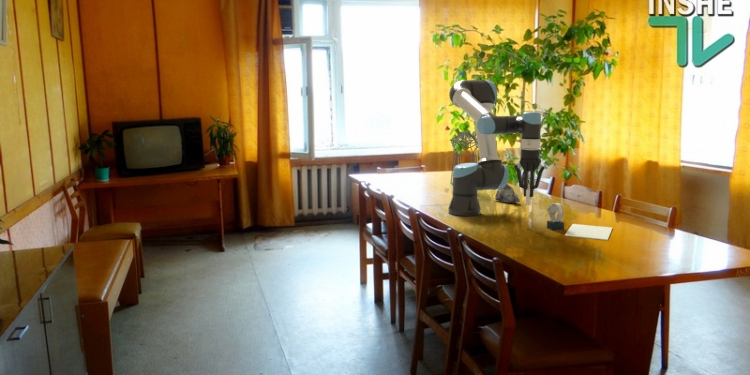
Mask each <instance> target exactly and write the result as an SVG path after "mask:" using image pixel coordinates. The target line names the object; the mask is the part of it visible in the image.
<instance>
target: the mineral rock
mask: <svg viewBox="0 0 750 375" xmlns="http://www.w3.org/2000/svg"><path fill="white" fill-rule="evenodd" d="M494 199H495V201H496V202H502V203H508V204H512V203H513V204H516V203H520V201H521V200H520V198H519V196H518V194H517V193H516V192H515V190H514V188H513V187H512V186H510V185H509V184H508V183H507V184H506V185H505V187H503V188H502V189H496V193H495V198H494Z"/></svg>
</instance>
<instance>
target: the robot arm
mask: <svg viewBox="0 0 750 375" xmlns="http://www.w3.org/2000/svg"><path fill="white" fill-rule="evenodd" d="M448 96H449V97H448V98H449V100H450V103H452V104H453V105H454V106H455V107H456V108H460V109H462V111H463V112H465V113H466V114H467V115H468V116H469V117H470V118H471V119H472V120H473V121H474V126H475V133H476V139H477V141H478V148H477V149H478V154H479V160H478V161H477V163H476V162H473V163H472V162H470V163H469V162H465V163H460V164H459V163H458V164H457V165H456V166H455V165H454V166H453V174H452V183H453V186H452V196H451V200H450V202H449V206H448V214H451V215H453V216H461V217H473V216H478V215H481V213H482V212H481V211H482V208H481V205H480V201H479V198H478V191H488V190H489V191H490V190H491V191H492V190H493V191H494V190H495V191H497V190H498V189H502V188H503V187H505V185H506V184H508V181H509V176H510V174H509V173H510V172H509V168H508V167H507V165H505V164H503V160H502V158H500V157H499V155H498V146H497V141H496V140H497V139H496V135H499V134H500V135H501V134H510V135H511V134H520V135H521V145H520V146H521V147H520V148H521V150H520V160H519V163H516V164H514V166H513V167H514V169H515V172H516V175H517V181H518V186H519V188H521V189H523V197H525V205H526V206H530V205H531V200H532V197H534V191H535V190H534V189H538V188H539V185H540V182H541V180H542V179H541V178H542V175H543V172H544V170H545V169H546V166H545V165H544V164H542V163H541V161H540V153H541V152H540V151H541V150H540V148H541V131H542V130H541V128H542V114H541V112H539V111H524V112H523V113H522V115H495V114H494V113H493V112H492V111H493V110H492V109H493V108H494V106H495V103H496V102H497V100H498V88H497V86H496V85H495V83H494V82H493V81H491V80H487V79H461V80H458V81H456V82H454V84H453V85H451V87H450V89H449V95H448ZM521 168H522V169H523V174H524V175H523V176H522V172H521ZM537 169H538V173H537V176H536V179H535V173H536V170H537ZM529 175H530V176H529Z"/></svg>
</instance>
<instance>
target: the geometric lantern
mask: <svg viewBox="0 0 750 375" xmlns="http://www.w3.org/2000/svg"><path fill="white" fill-rule="evenodd" d="M463 139H464V140H463ZM467 139H468V140H467ZM449 141H450V143H451V145H452V150H454V152H455V153H453V158H452V166H451V175H450V184H451V186H452V187H453V169H454V167H455V166H456V165H459V164H461V157H468V154H469V162H468V163H474V162H475V163H478V161H477V158H478V155H476V154H477V149H478V141H477V136H475V135H474V134H472V133H471V132H470V131H463V132H461V133H459V134H457V135H456V136H454V137H453V138H452V137H451V138H450V139H449ZM463 143H464V144H463ZM456 144H457V145H458V149H456ZM472 144H473V145H472ZM474 146H475V148H474V150H473V147H474ZM461 147H463V149H462V150H461V152H460V153H458V152H459V150H460V148H461ZM465 149H466V151H467V152H468V154H462V152H464V150H465ZM469 149H470V151H471V152H470V151H469Z"/></svg>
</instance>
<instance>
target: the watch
mask: <svg viewBox="0 0 750 375" xmlns="http://www.w3.org/2000/svg"><path fill="white" fill-rule="evenodd" d="M546 209H547V212H548V215H549V219H550V220H547V221H546V229H547V230H550V231H563V230H565V222H564V221H562V219H563V217H564V209H563V205H562V203H559V202H551V203H550V204H549V205H547V208H546ZM556 214H557V215H556ZM555 215H556V216H555Z"/></svg>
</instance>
